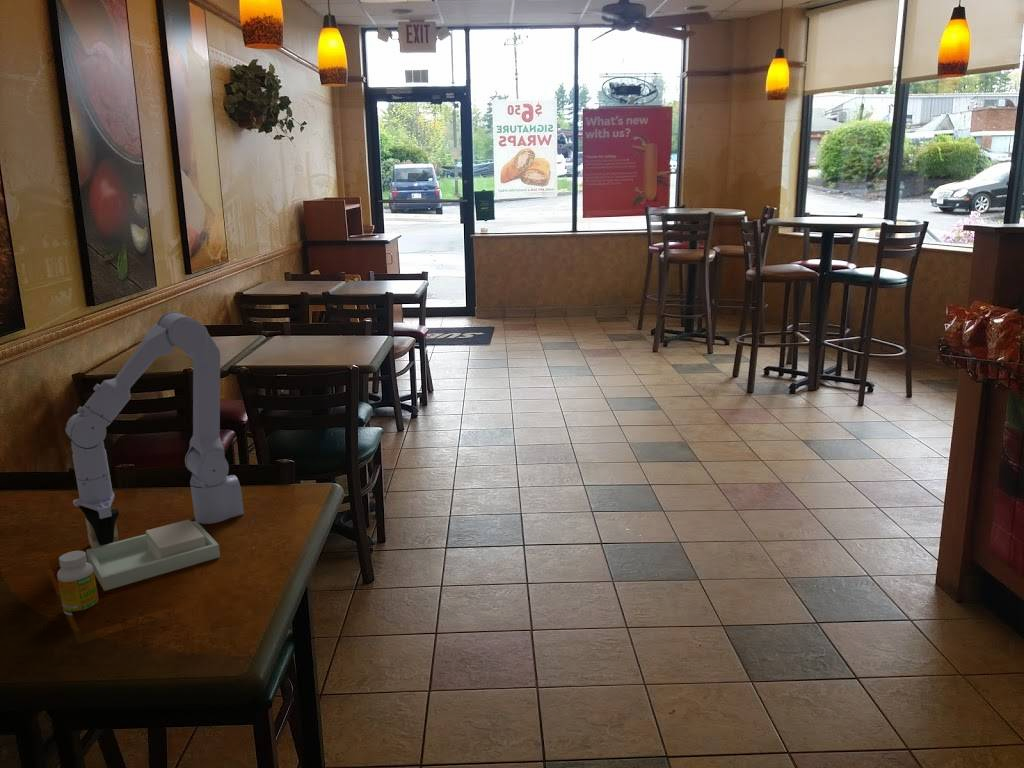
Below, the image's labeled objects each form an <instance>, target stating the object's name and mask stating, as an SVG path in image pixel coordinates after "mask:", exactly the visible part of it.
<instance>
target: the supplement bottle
mask: <svg viewBox="0 0 1024 768" xmlns="http://www.w3.org/2000/svg"><path fill="white" fill-rule="evenodd" d="M58 561H59V562H58V563H59V566H60V569H59V570H58V571H57V573H56V577H57V583H58V589H59V593H60V600H61V604H62V605H61V606H62V611H63V613H64V614H65V615H67V616H70V617H71V616H72V617H73V613H72V612H81V611H83V610H88V609H89V608H91V607H93V606H94V605H97V603H98V602H99V593H98V587H97V582H96V581H97V580H96V575H95V574H94V569H93V566H92V565H91V564H90V563H88V558H87V553H86V551H83V550H73V551H69V552H66V553H63V554H62V555H60V556H59V557H58Z"/></svg>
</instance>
